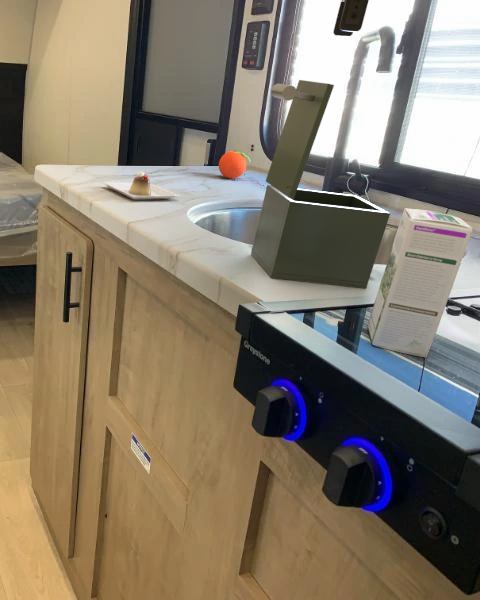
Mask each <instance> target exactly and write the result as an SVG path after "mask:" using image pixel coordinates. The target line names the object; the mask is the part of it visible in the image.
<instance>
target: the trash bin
mask: <svg viewBox="0 0 480 600" xmlns="http://www.w3.org/2000/svg"><path fill="white" fill-rule="evenodd" d="M264 192H265V193H264V197H263V201H262V206H261V210H260V214H259V218H258V221H257V222H258V223H257V226H256V231H255V235H254V239H253V244H252V247H251V251H250V255H251V256H252V257H253V258H254V260H255V261H256V262H257V263H258V265H259V266H260V267H261V268H262V269H263V270H264V272H265V273H266V274H267V275H268V276H269V277H270V279H277V280H286V281H294V282H305V283H313V284H323V285H329V286H330V285H331V286H340V287H349V288H358V289H367V287H368V284H369V281H370V277H371V276H372V275H371V274H372V271H373V268H374V265H375V263H376V259H377V256H378V253H379V250H380V247H381V244H382V241H383V237H384V234H385V231H386V229H387V226H388V222H389V219H390V216H391V213H390V212H389V211H387V210H385V209H383V208H381V207H379V206H377V205H375V204H373V203H371V202H370V201H368V200H366V199H364V198H362V197H360V196H358V195H355V194H346V193H338V192H329V191H321V190H313V189H303V188H297V191H296V194H295V197H294V199H293V198H288V197H287V196H286V195H284V194H283V193H281V192H280V191H279V190H277V189H276V188H274V187H273V186H271V185H270V184H267V185H266V189H265V191H264Z"/></svg>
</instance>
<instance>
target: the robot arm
mask: <svg viewBox="0 0 480 600" xmlns="http://www.w3.org/2000/svg"><path fill="white" fill-rule="evenodd" d="M339 1H340V3H339V8H338V11H337V15H336V18H335V19H336V20H335V24H334V27H333V35H334V36H337V37H345V38H348V37H351V36H352V35H353V34H354V33H357V32H359V31H361V30H362V27H363V23H364V20H365V16H366V11H367V9H368V4H369V0H339Z"/></svg>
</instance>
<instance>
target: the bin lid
mask: <svg viewBox="0 0 480 600" xmlns="http://www.w3.org/2000/svg"><path fill="white" fill-rule="evenodd" d="M334 87H335V84H331V83H325V82H319V81H311V80H304V79H298V83H297V85H296V87H295V86H294V85H290V84H285V83H275V84H274V85H273V86H271V90H270V93H271V96H272V97H273V98H276V99H280V100H284V101H291V103H290V105H289V110H288V112H287V116H286V119H285V120H284V121H285V122H284V124H283V128H282V130H281V133H280V136H279V139H278V143H277V145H276V148H275V151H274V154H273V158H272V161H271V164H270V166H269V170H268V173H267V176H266V177H265V182H266V183H267V184H268V185H271V186H273V187H274V188H276V189H277V190H279V191H280V192H281V193H283V194H284V195H286V196H287V197H288V198H293V199H294V197H295V194H296V191H297V189H299V186H300V184H301V183H300V182H301V179H302V177H303V174H304V172H305V168H306V166H307V163H308V160H309V157H310V155H311V152H312V150H313V147H314V144H315V140H316V137H317V134H318V132H319V129H320V126H321V123H322V120H323V118H324V115H325V112H326V109H327V107H328V104H329V102H330V101H329V100H330V98H331V95H332V92H333V90H334Z"/></svg>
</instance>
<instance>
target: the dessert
mask: <svg viewBox="0 0 480 600" xmlns="http://www.w3.org/2000/svg"><path fill="white" fill-rule="evenodd" d="M144 172H145V173H147V171H146V170H144ZM144 172H143V170H140V171H139V172H137V174H136V176H135V177H134V178H133V180H132V181H101V184H103V185H104V186H106V187H107V188H108V189H110V190H112V191H114V192H116V193H118V194H120V195H123V196H125V197H127V198H129V199H131V200H134V201H139V200H140V201H143V200H145V201H146V200H172V199H176V198H180V197H181V195H180V194H178V193H175V192H172V191H170V190H169V189H166V188H164V187H161V186H158V185H156V184H154V183H151V181H150V178H149V175H147V174H144Z"/></svg>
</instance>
